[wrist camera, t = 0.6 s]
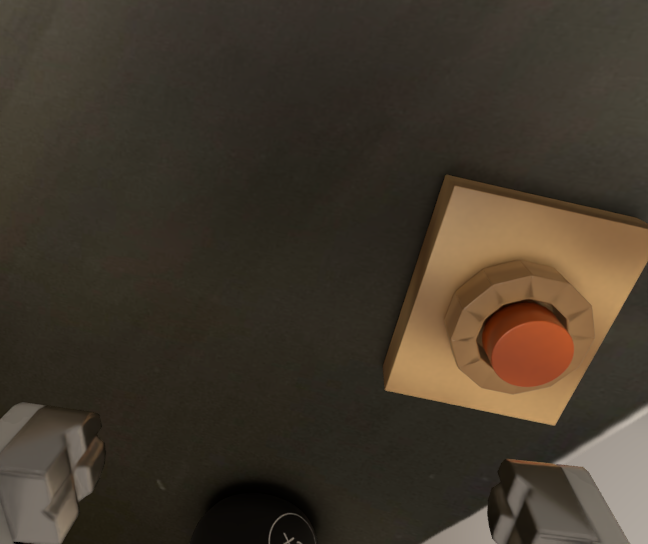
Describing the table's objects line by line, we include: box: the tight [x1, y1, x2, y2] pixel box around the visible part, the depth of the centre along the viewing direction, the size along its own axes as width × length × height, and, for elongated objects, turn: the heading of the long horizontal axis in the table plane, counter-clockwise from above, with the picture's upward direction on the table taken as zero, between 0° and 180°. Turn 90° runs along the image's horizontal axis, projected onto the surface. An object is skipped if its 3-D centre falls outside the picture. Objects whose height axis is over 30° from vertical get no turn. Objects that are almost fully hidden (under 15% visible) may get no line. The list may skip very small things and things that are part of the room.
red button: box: [482, 302, 574, 387], centre depth 21 cm, size 4×4×2 cm
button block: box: [383, 175, 648, 425], centre depth 23 cm, size 12×10×4 cm
